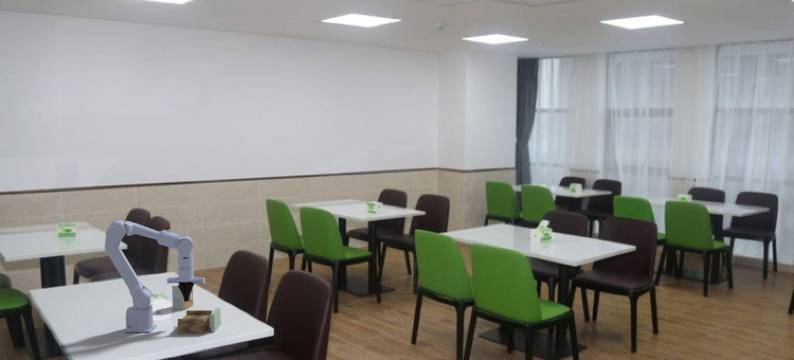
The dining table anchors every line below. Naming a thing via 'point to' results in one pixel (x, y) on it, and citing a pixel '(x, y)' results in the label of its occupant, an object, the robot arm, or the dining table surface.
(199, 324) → the walnut box
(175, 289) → the small box
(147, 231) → the robot arm
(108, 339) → the dining table surface
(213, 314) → the cover plate
